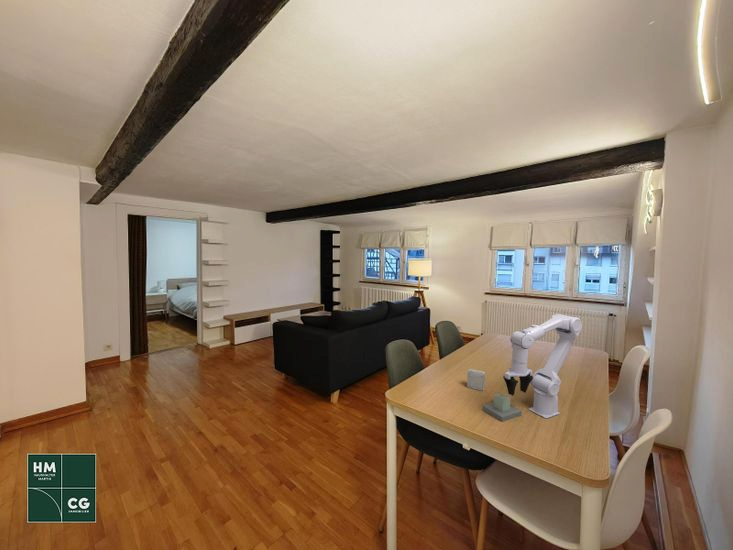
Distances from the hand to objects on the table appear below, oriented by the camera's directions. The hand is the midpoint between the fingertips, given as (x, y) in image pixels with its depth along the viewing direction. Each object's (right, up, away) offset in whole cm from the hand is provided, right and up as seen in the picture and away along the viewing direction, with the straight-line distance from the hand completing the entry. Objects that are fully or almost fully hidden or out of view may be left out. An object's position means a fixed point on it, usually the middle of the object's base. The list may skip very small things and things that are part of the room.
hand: (517, 393), depth 119 cm
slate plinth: (-5, -10, +4) cm, 12 cm away
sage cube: (-5, -8, +4) cm, 10 cm away
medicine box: (-7, -9, +27) cm, 29 cm away
